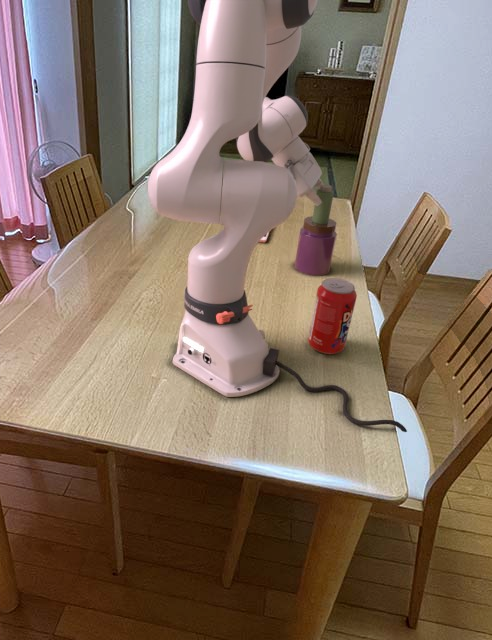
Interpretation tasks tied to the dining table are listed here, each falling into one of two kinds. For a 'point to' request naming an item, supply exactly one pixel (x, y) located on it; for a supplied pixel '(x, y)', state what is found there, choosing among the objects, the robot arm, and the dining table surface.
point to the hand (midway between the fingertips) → (322, 199)
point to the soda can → (332, 315)
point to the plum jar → (315, 247)
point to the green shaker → (323, 205)
